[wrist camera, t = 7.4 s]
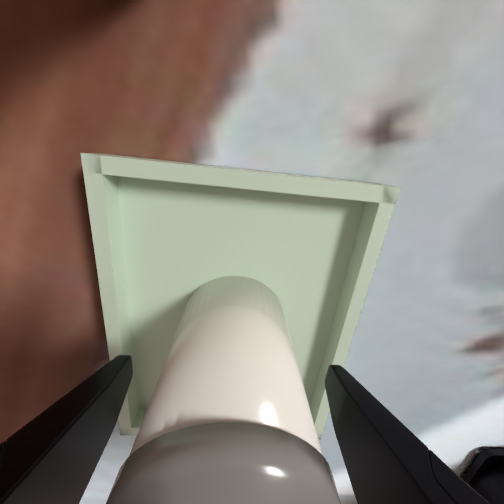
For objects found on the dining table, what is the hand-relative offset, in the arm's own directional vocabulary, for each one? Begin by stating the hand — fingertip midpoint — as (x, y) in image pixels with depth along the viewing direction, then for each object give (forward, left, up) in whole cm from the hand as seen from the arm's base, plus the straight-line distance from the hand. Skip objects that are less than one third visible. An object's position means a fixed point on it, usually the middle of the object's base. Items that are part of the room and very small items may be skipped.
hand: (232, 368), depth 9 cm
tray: (0, 0, -3) cm, 3 cm away
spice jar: (0, 0, -3) cm, 3 cm away
